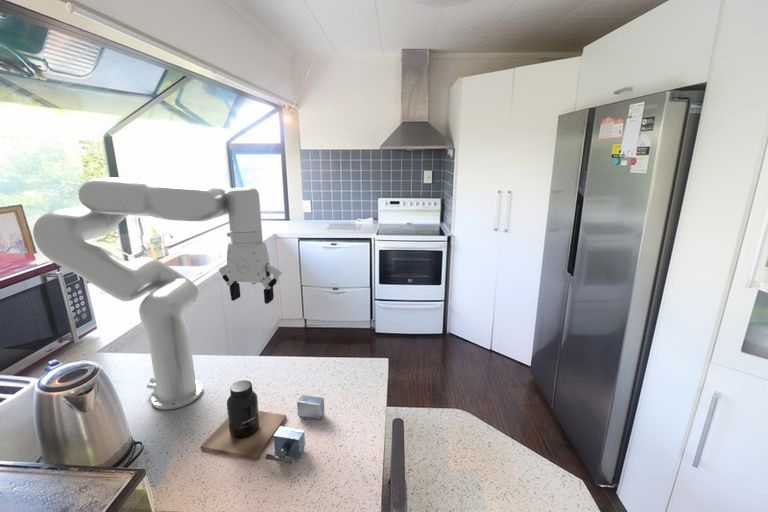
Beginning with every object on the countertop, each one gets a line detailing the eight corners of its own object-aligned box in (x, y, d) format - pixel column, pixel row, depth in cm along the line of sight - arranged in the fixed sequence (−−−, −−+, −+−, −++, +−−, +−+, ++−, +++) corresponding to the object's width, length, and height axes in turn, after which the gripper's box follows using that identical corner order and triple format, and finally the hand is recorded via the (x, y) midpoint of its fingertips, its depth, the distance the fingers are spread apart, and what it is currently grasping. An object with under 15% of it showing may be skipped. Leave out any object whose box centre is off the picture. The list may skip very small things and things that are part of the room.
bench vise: (266, 468, 78) (264, 448, 77) (303, 411, 96) (302, 394, 95) (291, 473, 77) (290, 453, 75) (324, 414, 95) (323, 398, 93)
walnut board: (201, 450, 83) (200, 446, 82) (237, 410, 96) (237, 407, 96) (256, 460, 80) (256, 456, 80) (286, 418, 93) (286, 415, 93)
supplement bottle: (250, 442, 84) (245, 396, 81) (223, 437, 85) (218, 392, 82) (265, 421, 90) (261, 379, 87) (240, 418, 92) (235, 376, 89)
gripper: (206, 238, 90) (214, 302, 94) (270, 241, 87) (275, 308, 91) (225, 233, 97) (231, 293, 101) (285, 236, 94) (288, 298, 98)
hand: (252, 300), depth 96 cm, fingers open, 9 cm apart
